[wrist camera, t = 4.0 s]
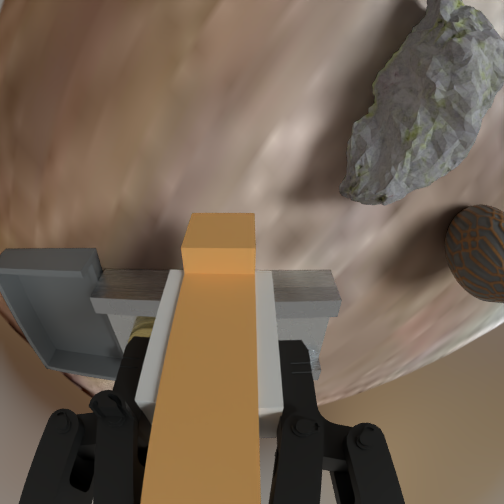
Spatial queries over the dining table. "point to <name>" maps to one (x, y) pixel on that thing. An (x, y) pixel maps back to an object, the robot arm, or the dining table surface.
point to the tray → (60, 309)
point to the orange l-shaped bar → (209, 374)
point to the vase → (478, 251)
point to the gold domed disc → (142, 327)
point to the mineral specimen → (425, 105)
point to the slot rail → (279, 279)
